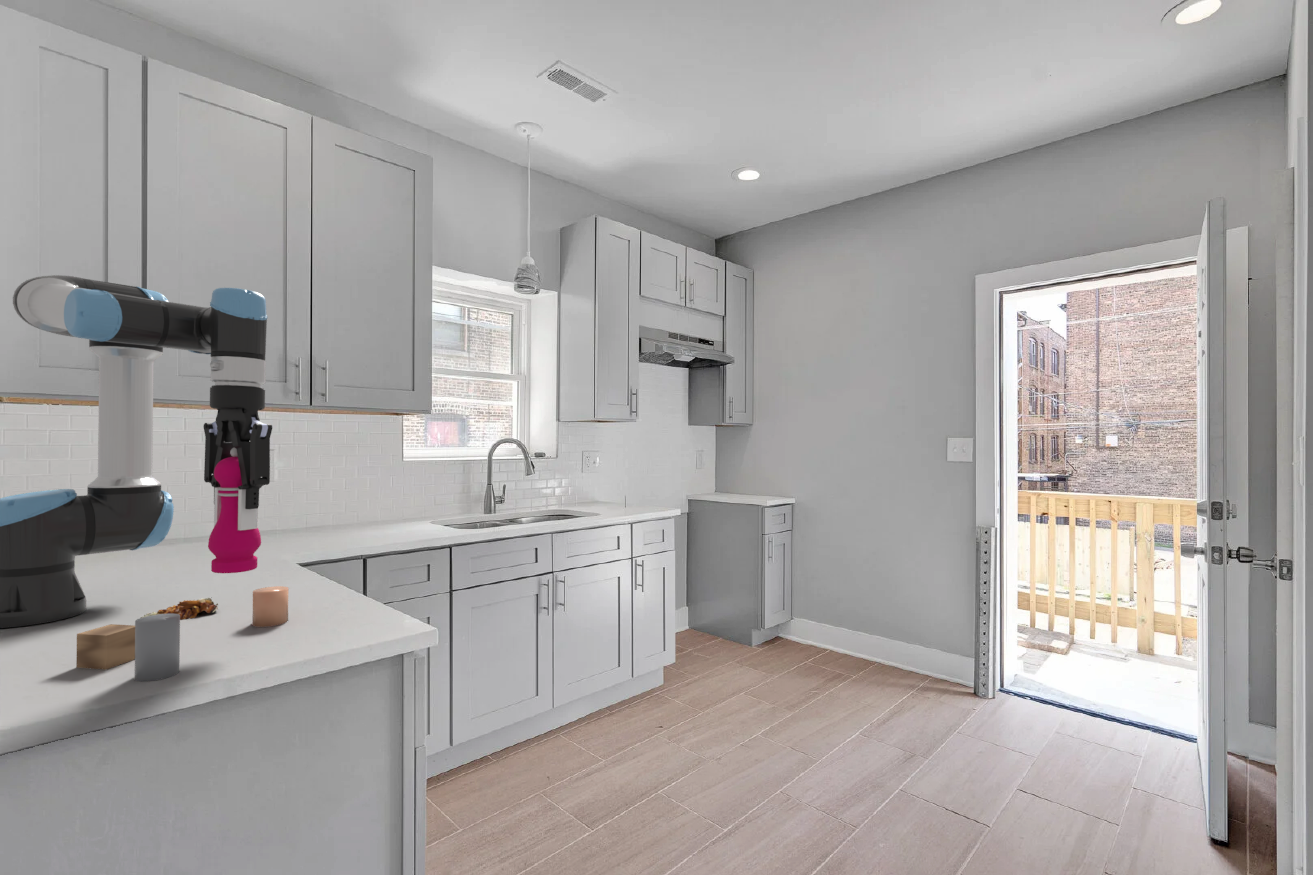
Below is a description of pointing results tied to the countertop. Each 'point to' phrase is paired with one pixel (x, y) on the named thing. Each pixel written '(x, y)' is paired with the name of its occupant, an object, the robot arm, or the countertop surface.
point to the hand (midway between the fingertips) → (235, 527)
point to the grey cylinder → (157, 647)
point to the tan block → (106, 646)
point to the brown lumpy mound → (189, 608)
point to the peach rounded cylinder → (270, 606)
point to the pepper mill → (231, 524)
